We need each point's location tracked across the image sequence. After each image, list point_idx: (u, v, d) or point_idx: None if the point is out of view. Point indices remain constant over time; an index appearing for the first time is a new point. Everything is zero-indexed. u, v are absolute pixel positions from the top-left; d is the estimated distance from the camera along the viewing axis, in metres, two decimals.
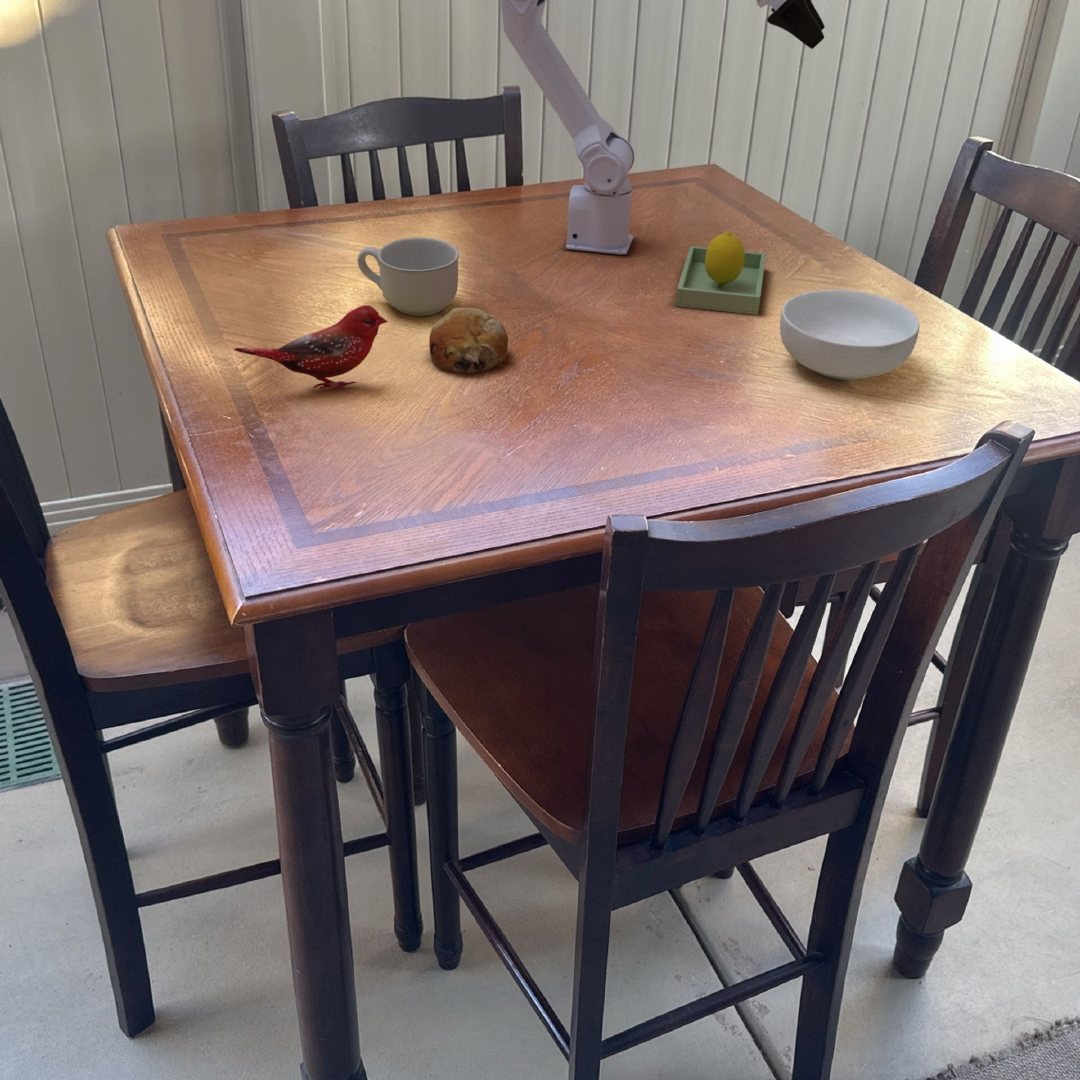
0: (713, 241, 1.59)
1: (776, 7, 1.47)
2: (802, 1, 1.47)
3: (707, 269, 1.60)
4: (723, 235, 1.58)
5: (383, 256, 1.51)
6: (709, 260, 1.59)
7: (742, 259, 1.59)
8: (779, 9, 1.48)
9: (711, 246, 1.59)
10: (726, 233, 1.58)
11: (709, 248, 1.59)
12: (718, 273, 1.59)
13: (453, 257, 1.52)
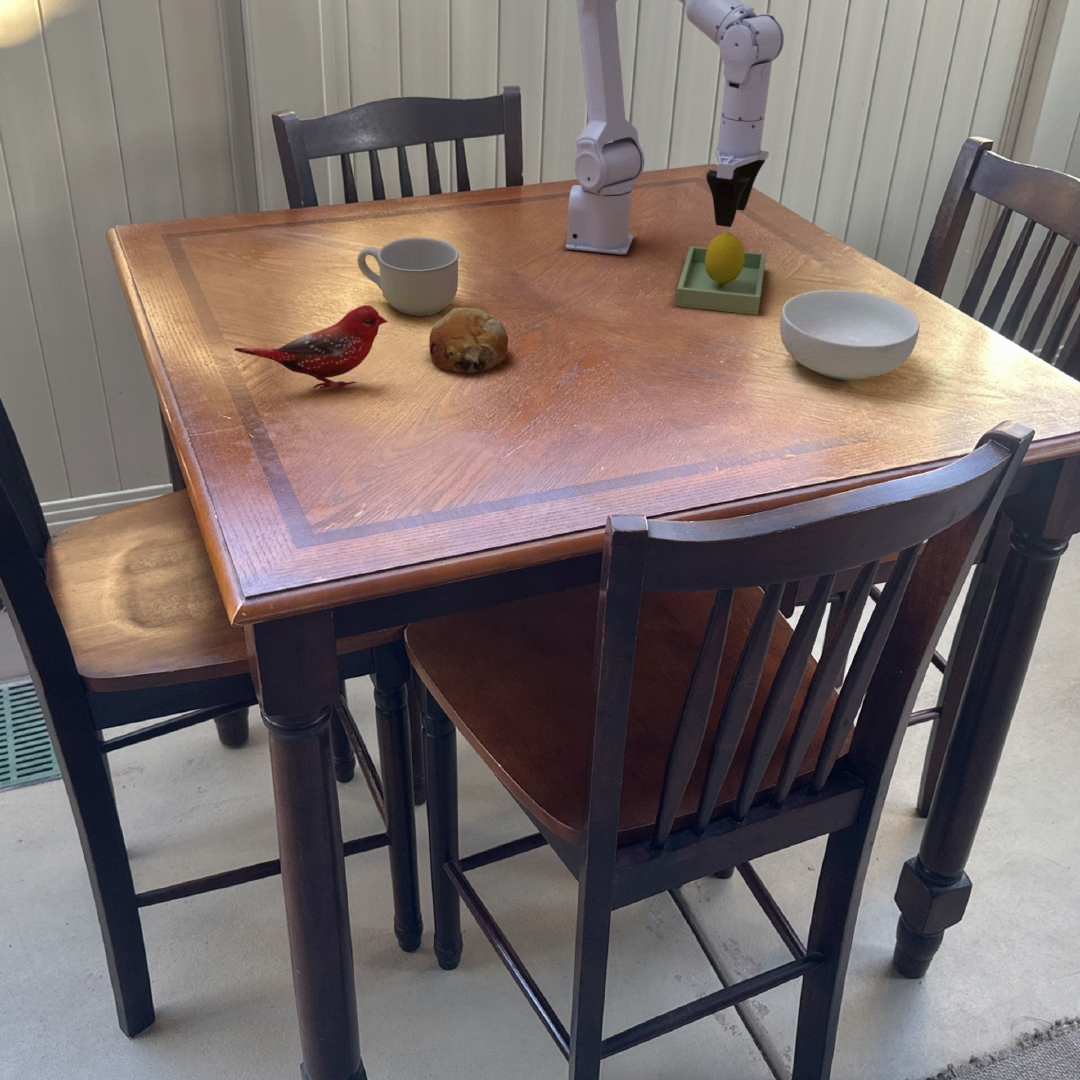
0: (713, 241, 1.59)
1: (719, 175, 1.48)
2: (740, 190, 1.49)
3: (707, 269, 1.60)
4: (723, 235, 1.58)
5: (383, 256, 1.51)
6: (709, 260, 1.59)
7: (742, 259, 1.59)
8: (720, 177, 1.49)
9: (711, 246, 1.59)
10: (726, 233, 1.58)
11: (709, 248, 1.59)
12: (718, 273, 1.59)
13: (453, 257, 1.52)
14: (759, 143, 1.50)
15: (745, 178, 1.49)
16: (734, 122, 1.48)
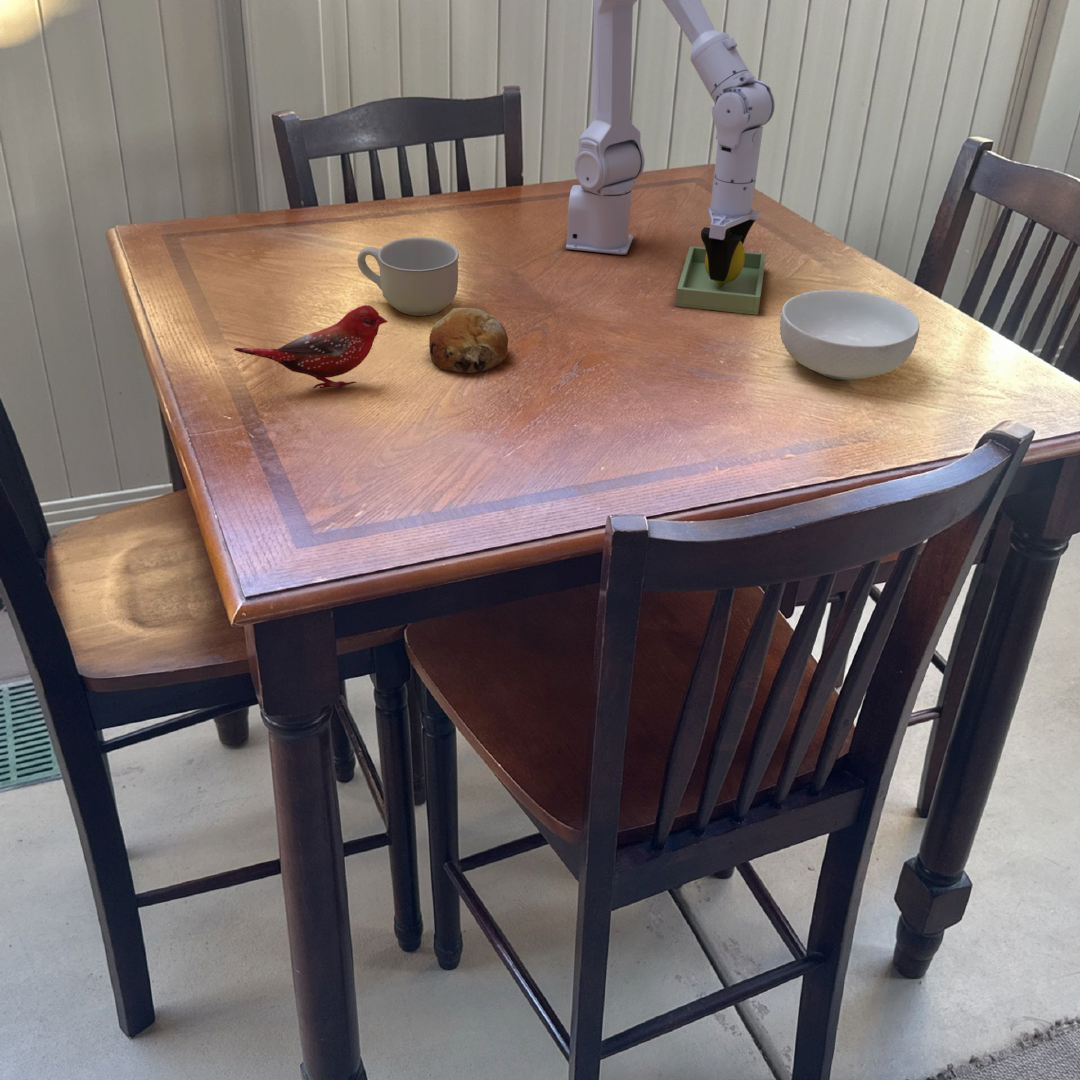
0: None
1: (711, 236, 1.52)
2: (733, 247, 1.54)
3: (707, 269, 1.61)
4: None
5: (383, 256, 1.51)
6: None
7: (742, 259, 1.59)
8: None
9: None
10: None
11: None
12: None
13: (453, 257, 1.52)
14: (751, 204, 1.55)
15: (738, 236, 1.54)
16: (726, 184, 1.52)
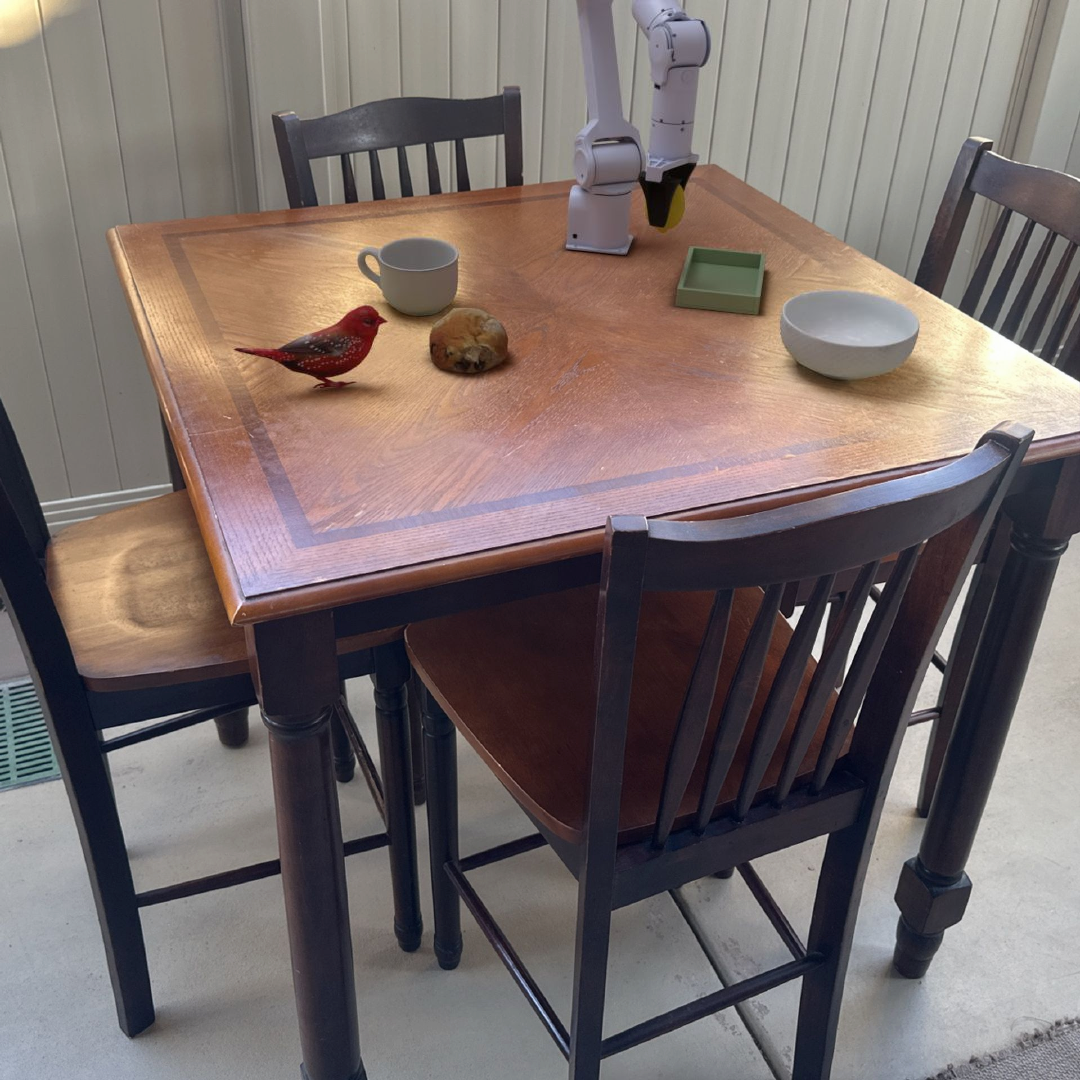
0: None
1: (648, 178, 1.48)
2: (671, 191, 1.50)
3: (647, 215, 1.56)
4: None
5: (383, 256, 1.51)
6: None
7: (682, 204, 1.55)
8: None
9: None
10: None
11: None
12: None
13: (453, 257, 1.52)
14: (689, 146, 1.51)
15: (676, 179, 1.50)
16: (663, 125, 1.48)
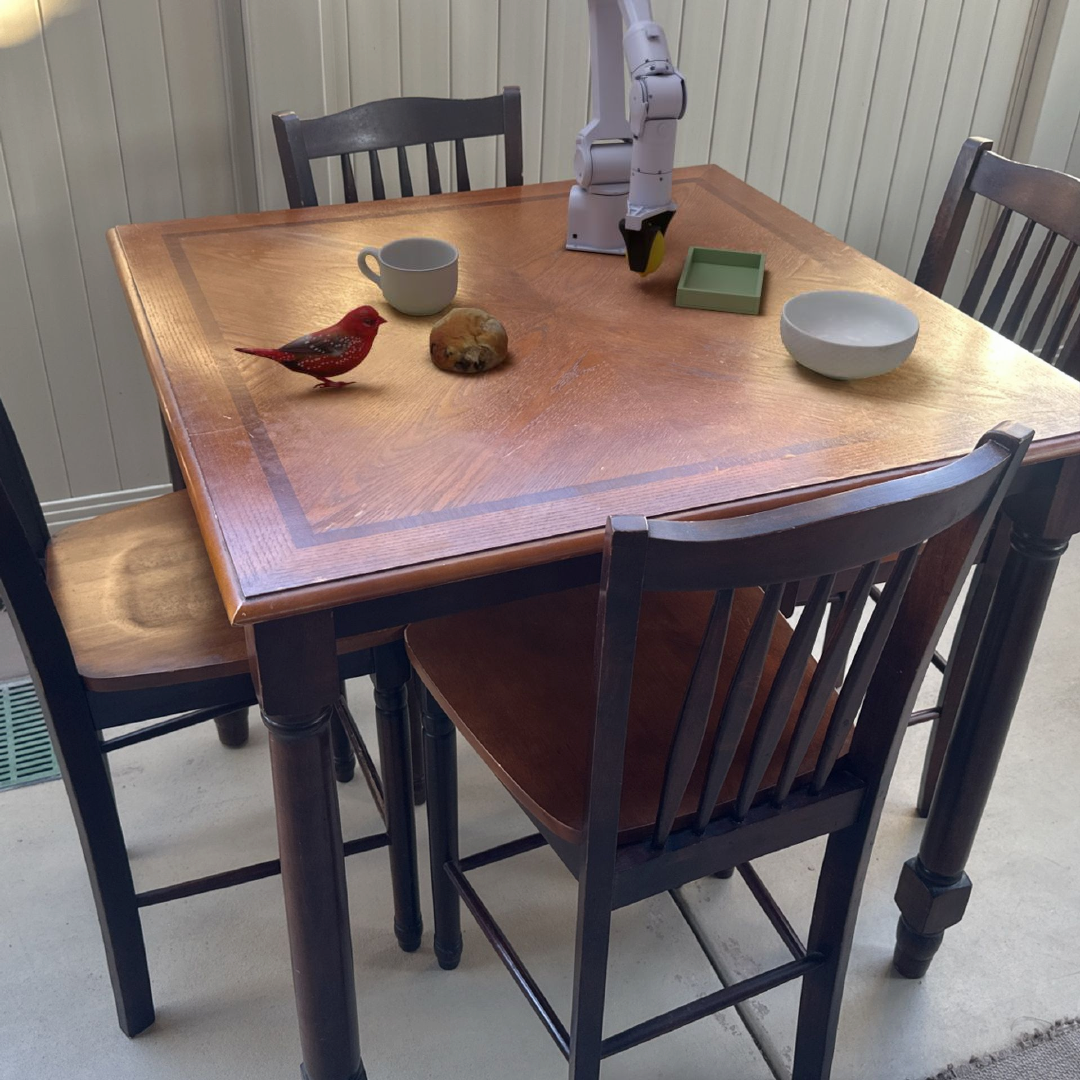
0: None
1: (627, 227, 1.52)
2: (650, 238, 1.54)
3: None
4: None
5: (383, 256, 1.51)
6: None
7: (662, 250, 1.59)
8: None
9: None
10: None
11: None
12: None
13: (453, 257, 1.52)
14: (668, 195, 1.54)
15: (655, 227, 1.54)
16: (642, 175, 1.52)
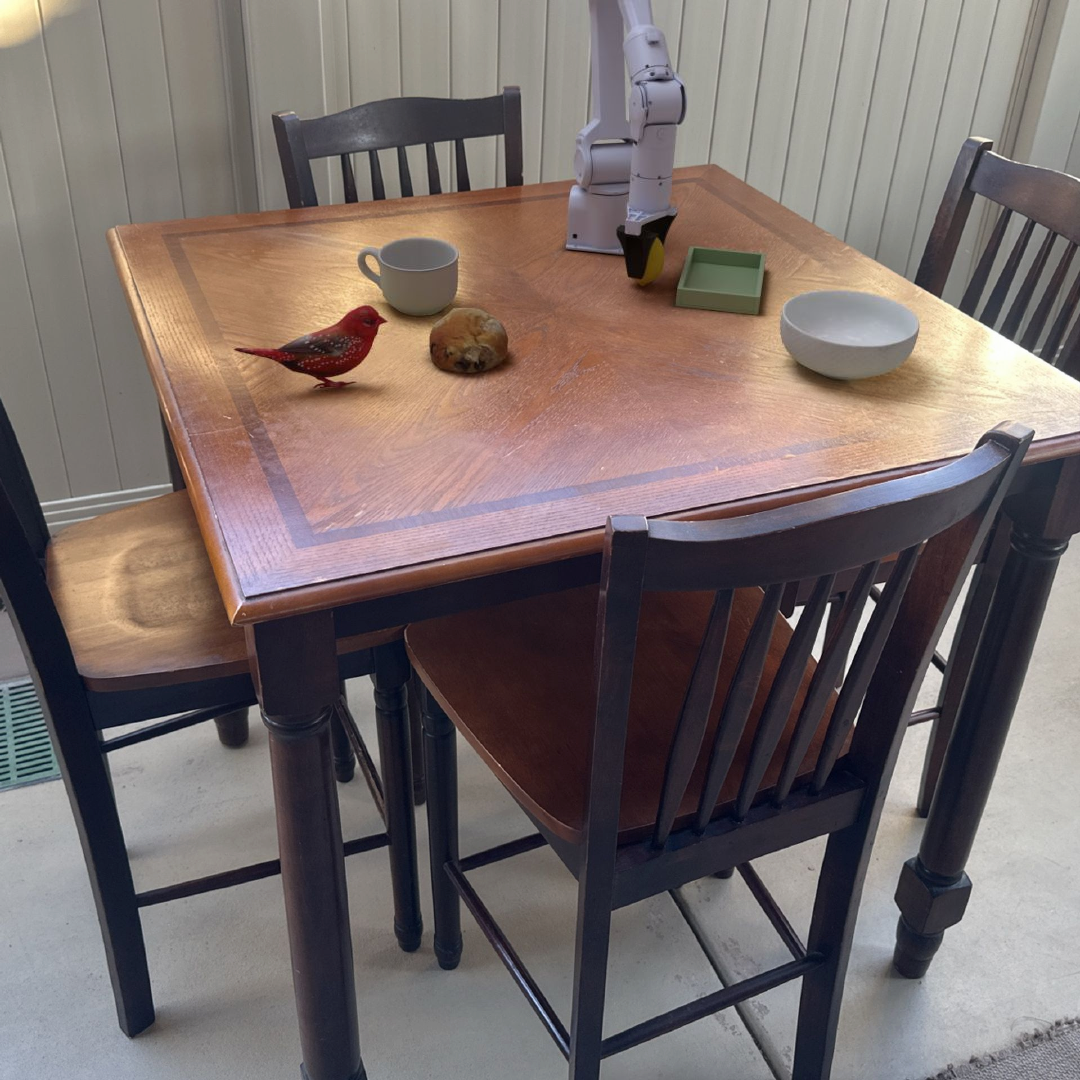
0: None
1: (627, 232, 1.52)
2: (648, 245, 1.54)
3: None
4: None
5: (383, 256, 1.51)
6: None
7: (661, 259, 1.59)
8: None
9: None
10: None
11: None
12: None
13: (453, 257, 1.52)
14: (668, 199, 1.55)
15: (653, 233, 1.54)
16: (642, 180, 1.52)
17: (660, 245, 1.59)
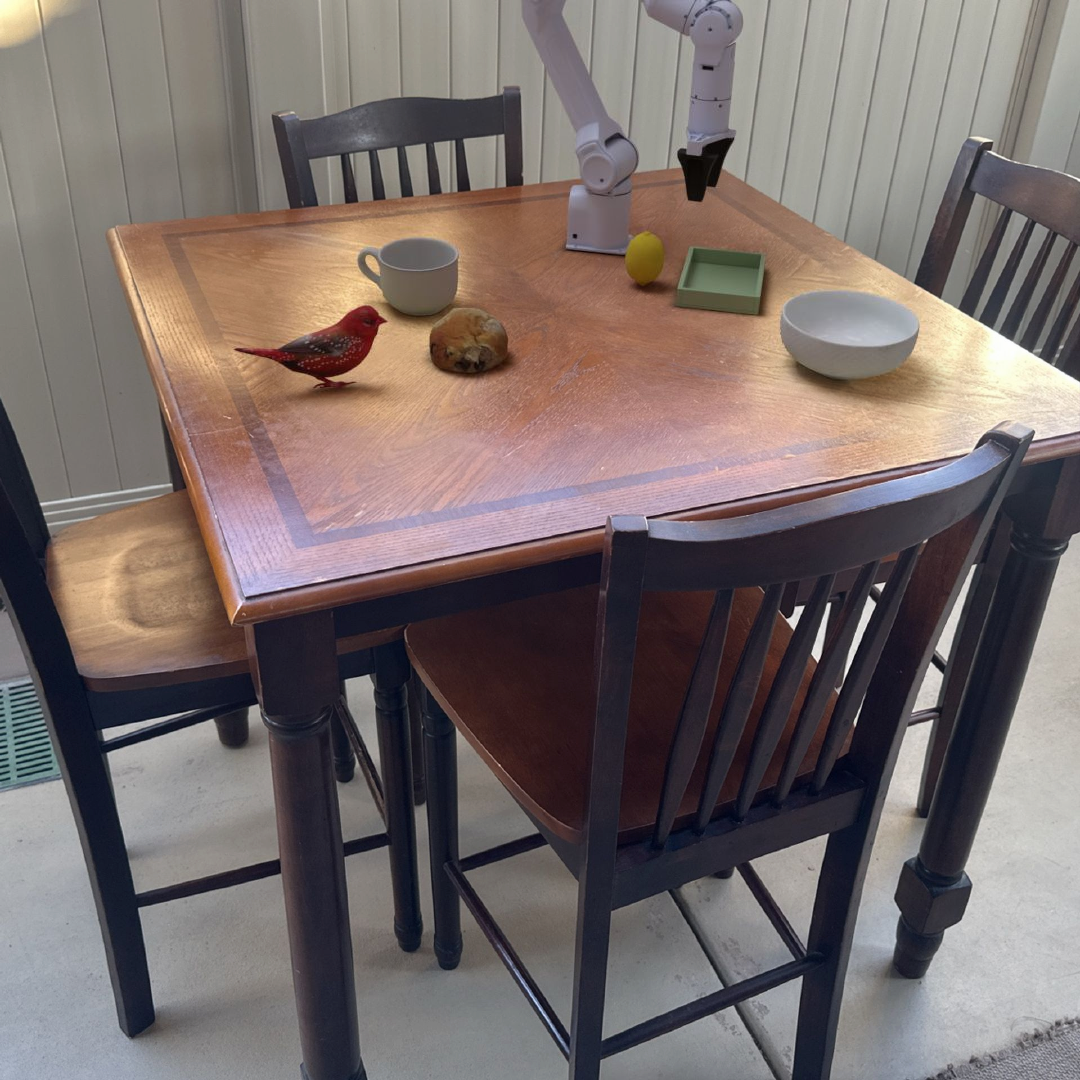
0: (632, 241, 1.59)
1: (688, 152, 1.56)
2: (708, 166, 1.58)
3: (627, 269, 1.61)
4: (642, 235, 1.59)
5: (383, 256, 1.51)
6: (629, 260, 1.60)
7: (661, 259, 1.59)
8: (690, 154, 1.58)
9: (630, 246, 1.59)
10: (645, 233, 1.59)
11: (629, 248, 1.60)
12: (638, 272, 1.60)
13: (453, 257, 1.52)
14: (727, 122, 1.59)
15: (713, 155, 1.58)
16: (702, 102, 1.56)
17: (660, 245, 1.59)
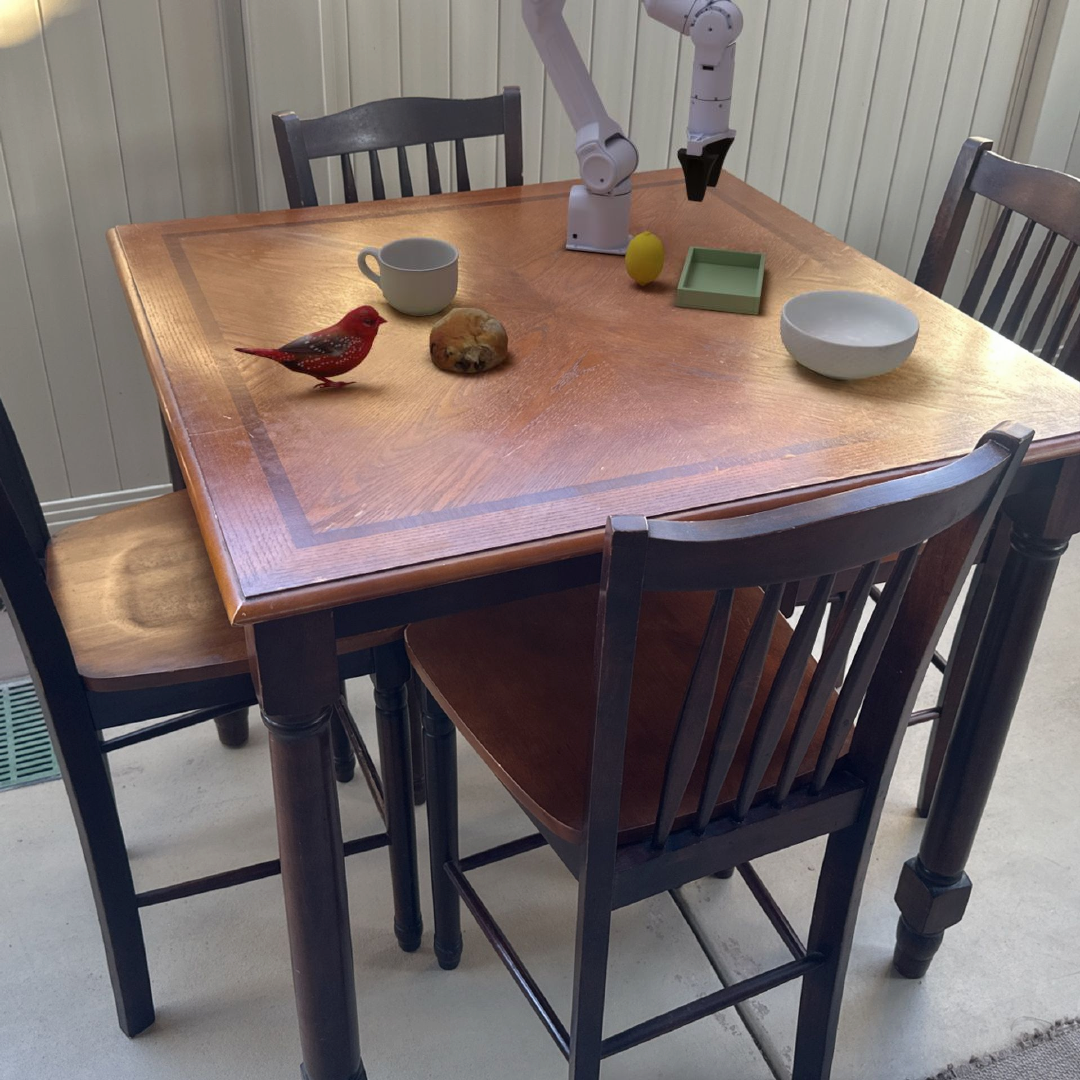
0: (632, 241, 1.59)
1: (689, 152, 1.56)
2: (709, 166, 1.58)
3: (627, 269, 1.61)
4: (642, 235, 1.59)
5: (383, 256, 1.51)
6: (629, 260, 1.60)
7: (661, 259, 1.59)
8: (690, 154, 1.58)
9: (630, 246, 1.59)
10: (645, 233, 1.59)
11: (629, 248, 1.60)
12: (638, 272, 1.60)
13: (453, 257, 1.52)
14: (727, 122, 1.59)
15: (714, 155, 1.58)
16: (702, 102, 1.56)
17: (660, 245, 1.59)
